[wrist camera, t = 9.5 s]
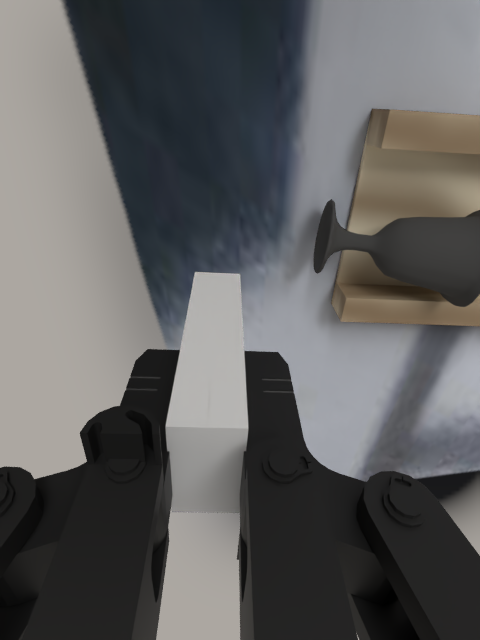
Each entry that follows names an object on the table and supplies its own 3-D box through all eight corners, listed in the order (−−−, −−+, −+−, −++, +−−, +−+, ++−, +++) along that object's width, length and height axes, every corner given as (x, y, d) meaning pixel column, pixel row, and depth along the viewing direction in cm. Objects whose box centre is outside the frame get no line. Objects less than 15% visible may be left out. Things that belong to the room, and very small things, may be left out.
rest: (371, 108, 23) (400, 109, 19) (622, 125, 24) (696, 129, 20) (331, 302, 30) (346, 331, 26) (525, 309, 31) (566, 338, 27)
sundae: (306, 283, 29) (496, 311, 28) (322, 286, 22) (571, 324, 22) (321, 197, 28) (517, 226, 28) (342, 174, 21) (602, 211, 21)
